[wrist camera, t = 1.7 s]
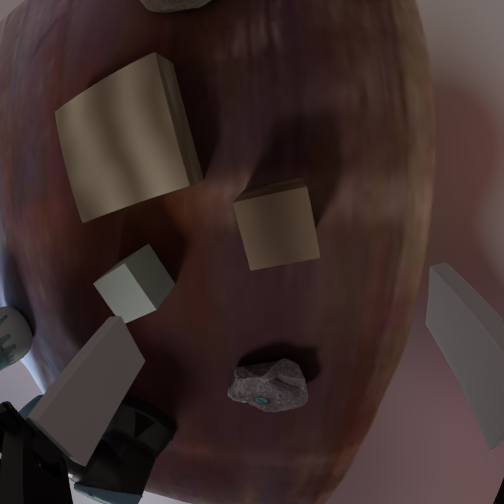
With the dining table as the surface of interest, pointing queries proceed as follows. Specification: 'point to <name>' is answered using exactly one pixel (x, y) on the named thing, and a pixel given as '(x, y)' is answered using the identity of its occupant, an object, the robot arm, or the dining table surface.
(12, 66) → the dining table surface
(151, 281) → the grey green cube
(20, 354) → the vase
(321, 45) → the dining table surface
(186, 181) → the plinth
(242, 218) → the walnut block
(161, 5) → the fossil
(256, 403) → the rock
